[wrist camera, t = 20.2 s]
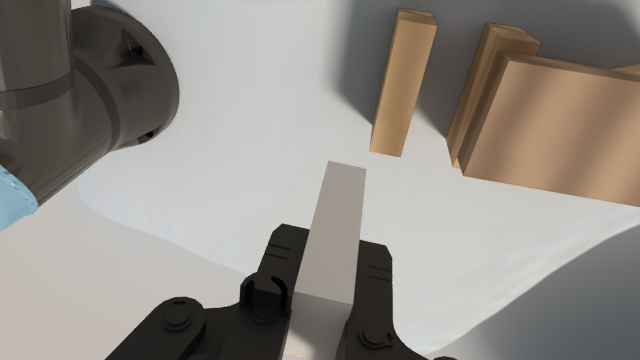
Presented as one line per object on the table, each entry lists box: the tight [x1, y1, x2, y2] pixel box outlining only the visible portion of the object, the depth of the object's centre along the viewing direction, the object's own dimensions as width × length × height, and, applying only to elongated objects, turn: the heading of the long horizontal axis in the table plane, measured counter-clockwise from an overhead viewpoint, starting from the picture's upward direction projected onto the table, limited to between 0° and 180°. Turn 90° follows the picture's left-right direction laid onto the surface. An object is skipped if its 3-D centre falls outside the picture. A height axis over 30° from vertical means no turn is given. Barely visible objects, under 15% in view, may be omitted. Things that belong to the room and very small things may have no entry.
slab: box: [458, 50, 640, 207], centre depth 32 cm, size 16×10×3 cm, turn 82°
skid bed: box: [370, 8, 541, 169], centre depth 36 cm, size 11×12×6 cm
